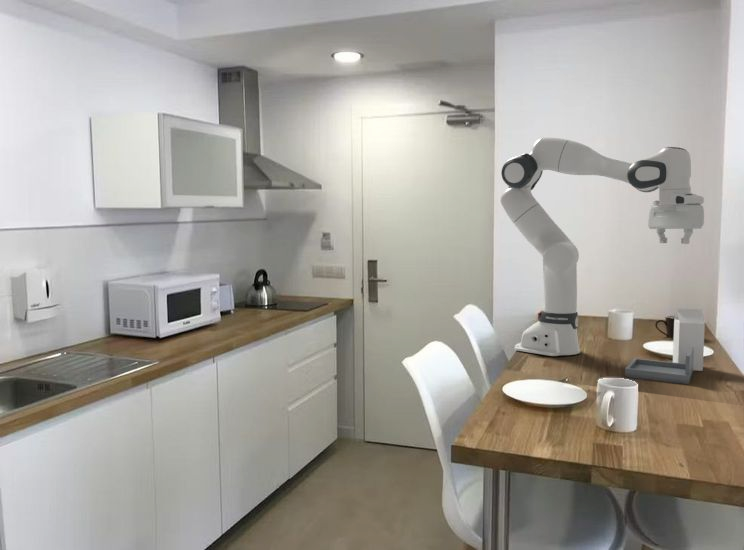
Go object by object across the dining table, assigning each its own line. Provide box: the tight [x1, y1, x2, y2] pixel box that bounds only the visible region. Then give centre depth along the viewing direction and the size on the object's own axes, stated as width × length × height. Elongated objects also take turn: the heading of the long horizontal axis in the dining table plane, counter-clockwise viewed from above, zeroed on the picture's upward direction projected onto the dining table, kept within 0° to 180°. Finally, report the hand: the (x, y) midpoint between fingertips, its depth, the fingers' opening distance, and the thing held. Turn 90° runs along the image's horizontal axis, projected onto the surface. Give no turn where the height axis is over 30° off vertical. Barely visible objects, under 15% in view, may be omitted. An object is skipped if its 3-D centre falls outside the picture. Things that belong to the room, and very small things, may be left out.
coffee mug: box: [655, 314, 676, 340], centre depth 232 cm, size 12×9×10 cm
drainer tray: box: [624, 347, 694, 385], centre depth 184 cm, size 17×16×8 cm
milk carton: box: [672, 308, 706, 372], centre depth 192 cm, size 7×7×19 cm
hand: (674, 243), depth 191 cm, fingers open, 8 cm apart
